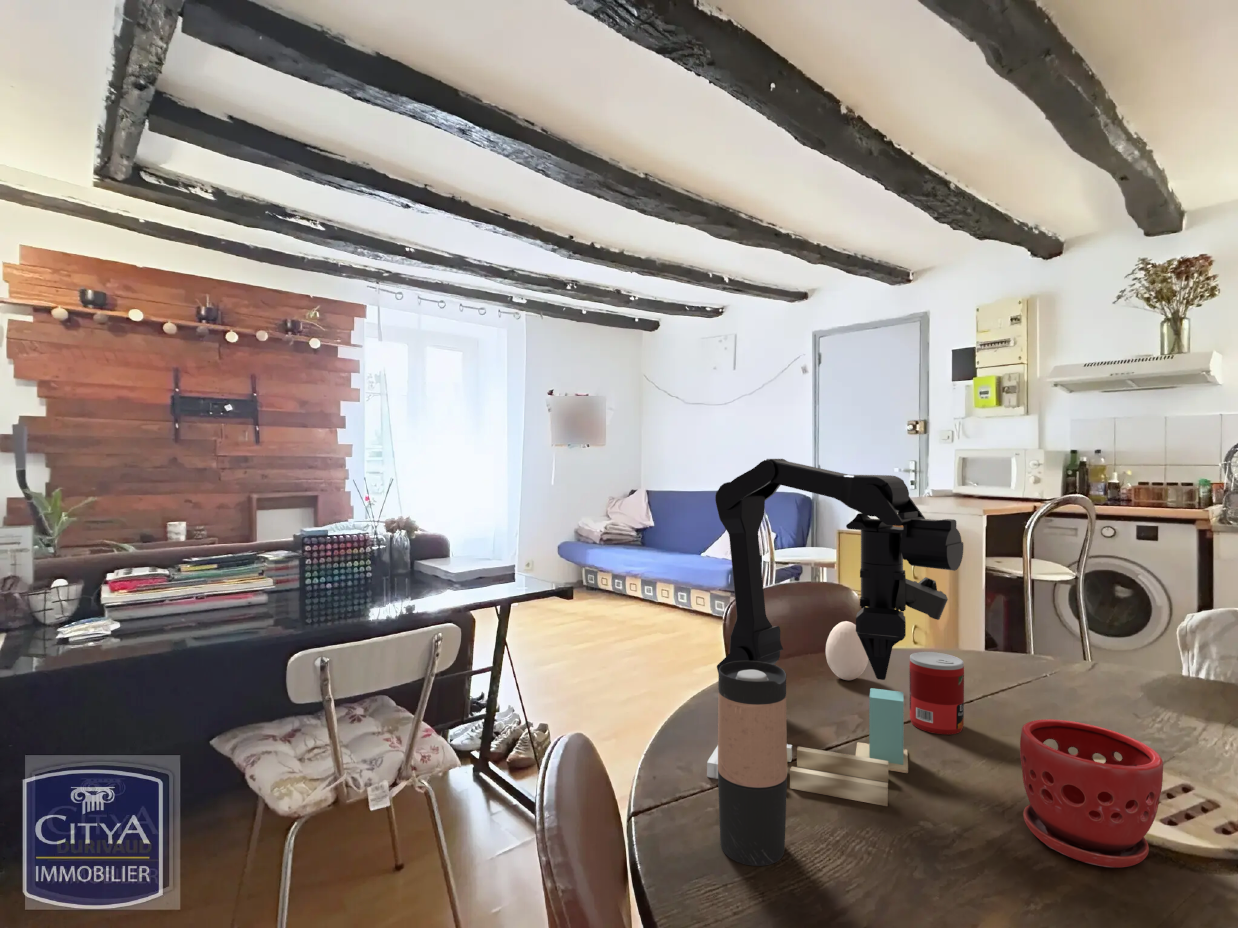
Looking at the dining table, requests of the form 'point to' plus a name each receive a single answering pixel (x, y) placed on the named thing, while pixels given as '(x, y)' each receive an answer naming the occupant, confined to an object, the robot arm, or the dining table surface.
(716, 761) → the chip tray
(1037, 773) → the plant pot
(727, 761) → the travel mug
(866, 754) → the cork pad
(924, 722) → the canned food
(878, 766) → the slot rails
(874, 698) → the block
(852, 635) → the egg
